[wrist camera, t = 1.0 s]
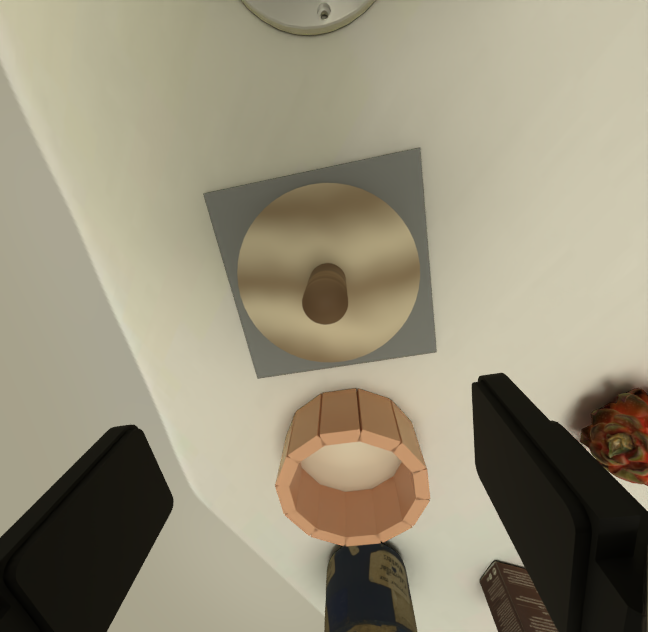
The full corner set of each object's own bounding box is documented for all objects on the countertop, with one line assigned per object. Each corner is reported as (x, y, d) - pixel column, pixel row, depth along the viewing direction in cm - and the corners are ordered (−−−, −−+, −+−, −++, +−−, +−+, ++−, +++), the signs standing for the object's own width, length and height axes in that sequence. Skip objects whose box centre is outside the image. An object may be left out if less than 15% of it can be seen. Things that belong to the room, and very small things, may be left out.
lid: (218, 204, 26) (177, 205, 19) (407, 165, 24) (433, 151, 18) (265, 368, 31) (245, 414, 24) (424, 343, 29) (450, 385, 23)
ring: (274, 399, 32) (261, 441, 27) (406, 381, 31) (421, 421, 25) (301, 497, 37) (295, 551, 31) (419, 484, 35) (434, 538, 30)
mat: (205, 193, 26) (203, 193, 26) (418, 148, 24) (420, 147, 24) (258, 375, 32) (257, 378, 31) (435, 349, 30) (436, 352, 29)
